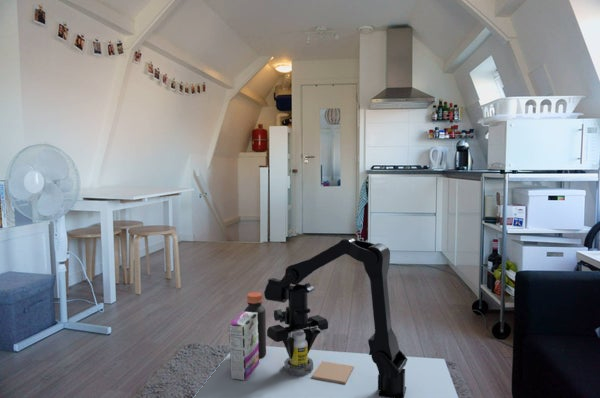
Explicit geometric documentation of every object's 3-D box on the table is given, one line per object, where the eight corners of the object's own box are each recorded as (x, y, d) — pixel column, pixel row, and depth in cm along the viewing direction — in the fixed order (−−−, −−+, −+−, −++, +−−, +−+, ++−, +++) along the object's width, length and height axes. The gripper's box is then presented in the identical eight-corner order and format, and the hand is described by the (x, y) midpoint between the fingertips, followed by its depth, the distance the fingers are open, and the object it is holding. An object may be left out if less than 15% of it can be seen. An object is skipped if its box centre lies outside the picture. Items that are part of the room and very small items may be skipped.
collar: (316, 364, 129) (316, 358, 129) (307, 377, 121) (307, 370, 121) (290, 360, 132) (290, 354, 132) (280, 372, 124) (280, 366, 124)
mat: (353, 368, 127) (353, 366, 126) (345, 384, 117) (345, 381, 117) (322, 362, 130) (322, 361, 130) (311, 377, 121) (311, 375, 121)
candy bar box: (244, 362, 131) (243, 310, 130) (259, 364, 130) (258, 312, 129) (229, 379, 120) (228, 323, 119) (245, 381, 119) (244, 325, 118)
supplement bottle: (298, 371, 123) (297, 338, 122) (286, 365, 126) (285, 333, 126) (311, 365, 126) (311, 333, 125) (299, 359, 130) (298, 328, 129)
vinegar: (269, 352, 138) (268, 292, 136) (260, 361, 132) (259, 298, 130) (251, 349, 140) (250, 290, 139) (241, 357, 134) (240, 296, 133)
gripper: (308, 292, 137) (309, 339, 138) (257, 303, 127) (258, 353, 128) (329, 301, 128) (329, 351, 129) (276, 313, 117) (277, 367, 118)
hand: (298, 355), depth 126 cm, fingers closed on supplement bottle, 5 cm apart
